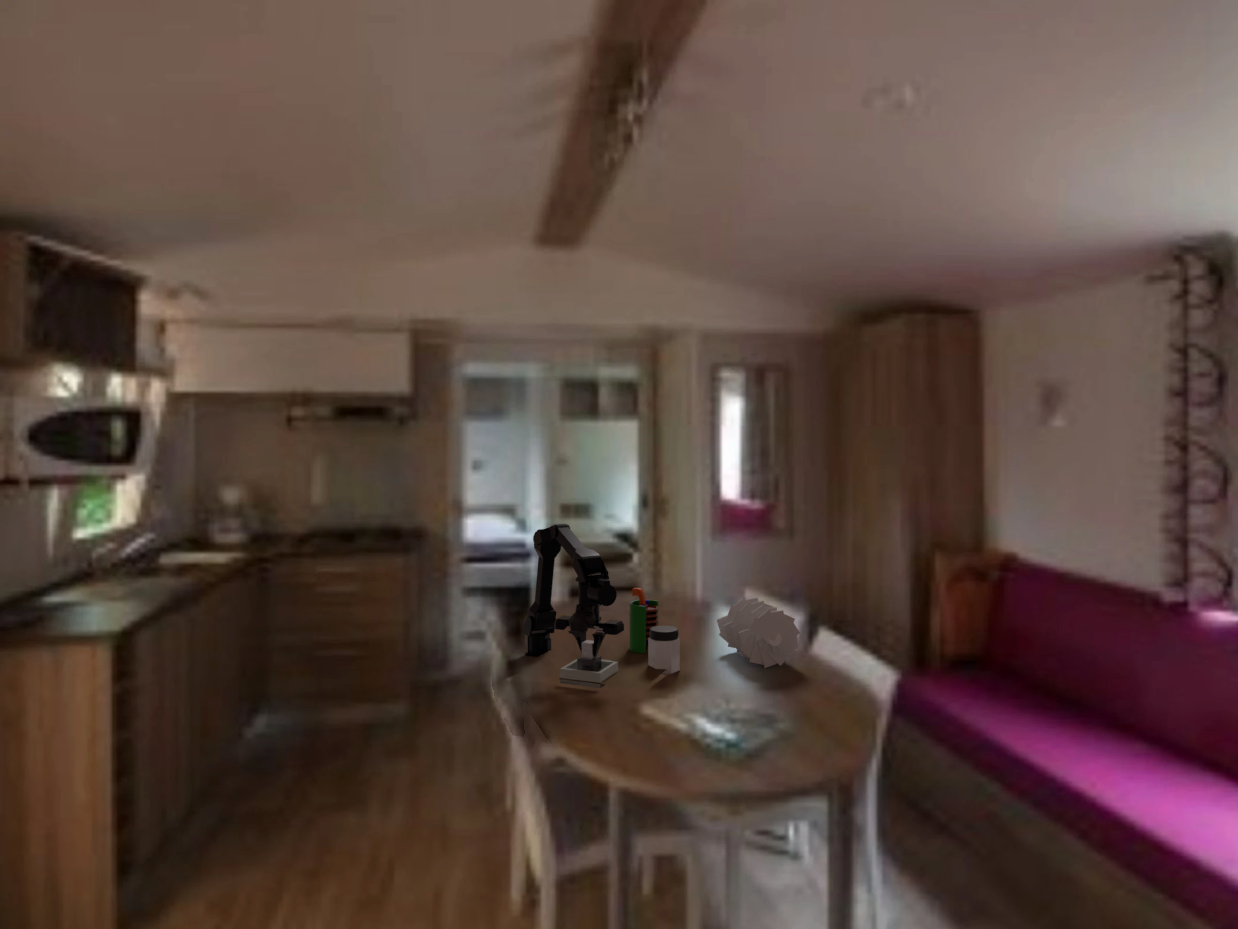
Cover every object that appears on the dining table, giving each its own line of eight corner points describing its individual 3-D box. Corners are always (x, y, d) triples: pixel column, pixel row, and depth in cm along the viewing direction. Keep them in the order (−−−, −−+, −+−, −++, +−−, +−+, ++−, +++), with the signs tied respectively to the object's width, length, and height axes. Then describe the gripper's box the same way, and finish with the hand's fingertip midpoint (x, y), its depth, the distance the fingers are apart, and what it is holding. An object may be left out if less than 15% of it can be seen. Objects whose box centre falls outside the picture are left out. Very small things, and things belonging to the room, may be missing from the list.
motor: (655, 658, 260) (655, 592, 259) (626, 657, 261) (626, 591, 260) (660, 650, 269) (660, 586, 269) (632, 648, 271) (632, 585, 270)
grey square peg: (577, 671, 237) (577, 643, 237) (585, 666, 242) (584, 639, 241) (594, 673, 235) (593, 645, 235) (601, 668, 240) (601, 640, 239)
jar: (684, 672, 245) (684, 630, 244) (659, 676, 241) (658, 633, 241) (669, 664, 253) (668, 624, 252) (644, 668, 249) (644, 627, 249)
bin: (560, 683, 235) (560, 668, 235) (579, 671, 246) (579, 657, 246) (600, 688, 231) (600, 673, 230) (618, 676, 242) (618, 661, 241)
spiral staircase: (754, 661, 270) (790, 680, 246) (706, 640, 266) (737, 657, 242) (777, 607, 272) (814, 620, 248) (729, 585, 268) (762, 596, 244)
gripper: (544, 602, 234) (545, 660, 234) (608, 608, 226) (608, 667, 227) (563, 595, 244) (563, 650, 245) (624, 600, 237) (624, 656, 237)
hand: (589, 656), depth 238 cm, fingers closed on grey square peg, 3 cm apart
